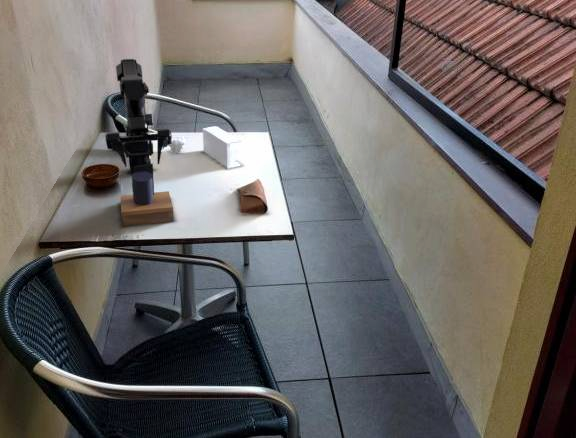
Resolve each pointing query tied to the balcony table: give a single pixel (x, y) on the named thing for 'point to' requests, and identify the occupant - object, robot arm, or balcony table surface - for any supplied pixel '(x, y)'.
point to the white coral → (176, 144)
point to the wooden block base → (147, 210)
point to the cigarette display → (220, 146)
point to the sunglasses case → (253, 198)
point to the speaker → (143, 184)
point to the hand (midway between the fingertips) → (142, 165)
